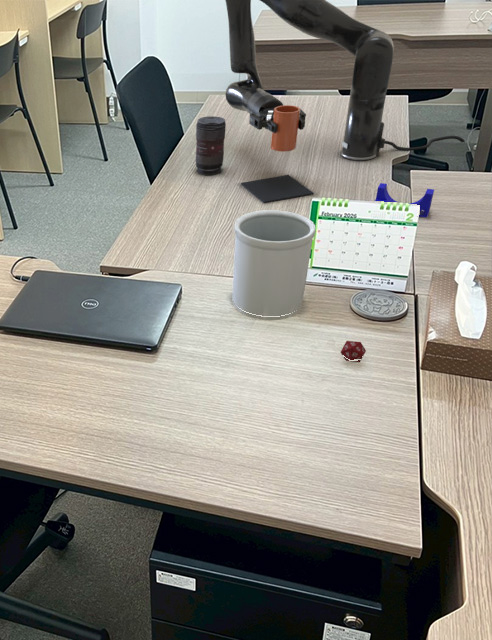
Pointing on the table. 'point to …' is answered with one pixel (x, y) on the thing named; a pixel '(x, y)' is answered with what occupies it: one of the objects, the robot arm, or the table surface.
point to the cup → (285, 128)
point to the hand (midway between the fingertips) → (289, 127)
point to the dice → (353, 350)
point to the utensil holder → (271, 263)
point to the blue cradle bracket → (423, 202)
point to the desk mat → (276, 188)
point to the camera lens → (210, 144)
